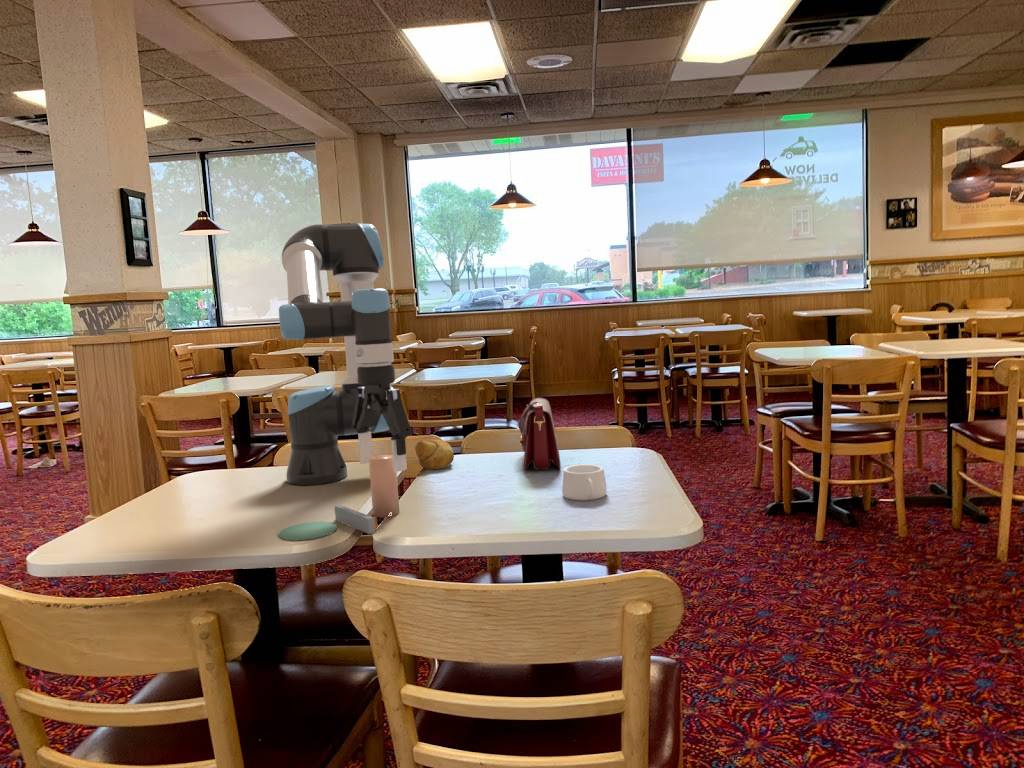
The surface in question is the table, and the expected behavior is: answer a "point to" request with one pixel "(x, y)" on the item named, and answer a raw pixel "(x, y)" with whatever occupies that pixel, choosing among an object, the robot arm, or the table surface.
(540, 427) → the handbag
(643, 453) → the table surface
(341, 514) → the rail
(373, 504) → the peach rounded cylinder
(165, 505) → the table surface
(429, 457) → the bread roll
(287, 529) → the pad
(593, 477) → the mug
